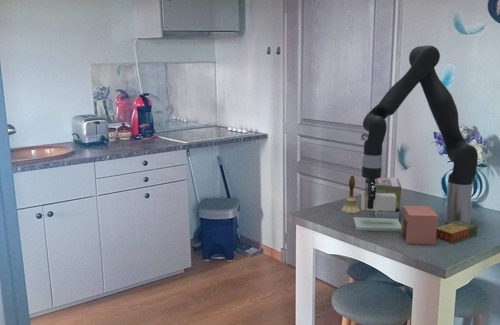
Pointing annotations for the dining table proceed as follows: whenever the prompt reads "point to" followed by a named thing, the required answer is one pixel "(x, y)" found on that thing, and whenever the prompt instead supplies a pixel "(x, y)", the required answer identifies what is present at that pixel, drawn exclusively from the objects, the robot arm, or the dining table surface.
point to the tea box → (389, 187)
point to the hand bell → (351, 199)
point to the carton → (456, 231)
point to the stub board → (377, 224)
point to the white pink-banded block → (380, 202)
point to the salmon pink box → (419, 224)
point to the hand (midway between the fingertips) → (369, 206)
